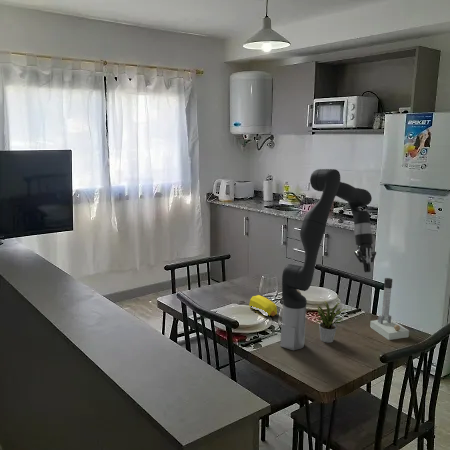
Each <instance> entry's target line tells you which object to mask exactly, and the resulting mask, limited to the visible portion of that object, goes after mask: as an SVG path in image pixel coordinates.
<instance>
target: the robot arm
mask: <svg viewBox="0 0 450 450" xmlns="http://www.w3.org/2000/svg"><path fill="white" fill-rule="evenodd" d="M309 182H310V183H309V184H310V186H311V187H312V189H313V190H314V191H316V192H322V194H321V196H320V198H319V199H318V201H317V202H316V203H315V204H314V206H312V207H311V209H309V210H308V212H307V213H306V214H305V215H304V217H303V220H302V223H301V227H300V231H299V236H300V242H301V244H302V246H303V251H304V262H303V265H297V264H293V263H290V264H288V263H287V265H285V267H284V268H283V270H282V275H281V297H282V298H281V300H282V299H283V300H282V313H281V314H282V317H281V327H280V347H282V348H283V349H284V348H285V349H288V350H291V351H296V350H301V349H303V348H305V339H306V338H305V336H306V321H307V320H306V317H307V316H306V315H307V298H306V297H305V296H304V295H303V294H302V293H301V294H300V293H299V292H298V291H297V290H299V291H300V292H301V291H302V292H306V291H308V290H309V289H310V287H311V285H312V281H313V279H314V274H315V268H316V263H317V259H318V254H319V250H320V247H321V243H322V240H323V238H324V234H325V231H326V227H327V223H328V219H329V216H330V212H331V208H332V207H333V203H334V201H335V198H336V197H337V198H340V199H341V200H344V201H345V202H347V203H348V204H347V205H348V206H349V209H350V210H351V214H352V216H353V225H354V227H353V229H354V230H353V231H354V239H355V240H354V241H355V245H356V246H357V250H356V251H354V255H355V256H356V258H357V260H358V261H359V263H362V265H363V271H364V273H370V272H371V271H372V269H371V263H373V262H374V260H375V258H376V255H377V251H374V250H373V246H372V244H374V240H373V231H372V230H373V229H372V225H371V220H370V217H371V216H370V212H368V211H367V210H360V209H359V208H360V207H365V206H368V205H370V204H371V202H372V198H373V197H372V194H371V193H370V191H368V190H367V189H365V188H360V187H359V188H358V187H355V186H353V185H351V184H349V183H345V182H342V181H341V174H340V171H339V170H338V169H335V168H320V169H316V170H314V171H313V172H311V175H310V178H309ZM296 289H297V290H296Z"/></svg>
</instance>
